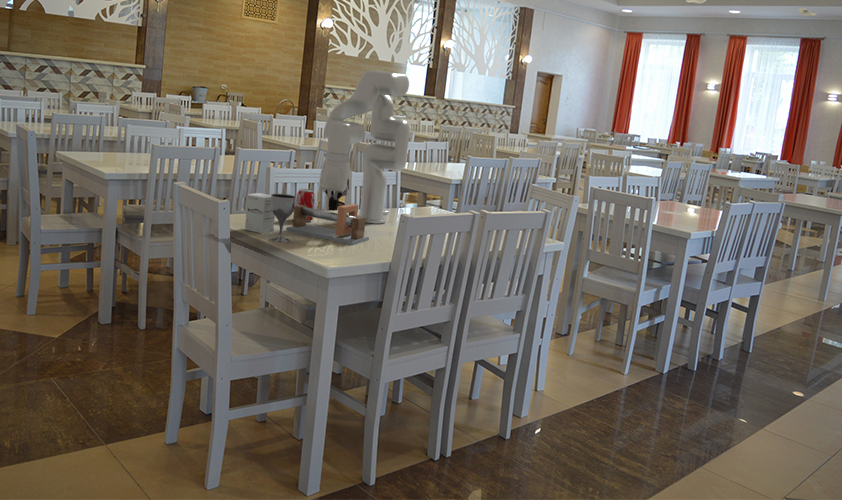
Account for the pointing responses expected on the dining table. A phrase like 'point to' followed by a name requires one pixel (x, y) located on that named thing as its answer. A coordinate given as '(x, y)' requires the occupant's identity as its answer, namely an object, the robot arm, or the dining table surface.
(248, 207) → the supplement box
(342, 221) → the ring
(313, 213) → the pipe
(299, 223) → the posts
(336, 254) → the dining table surface
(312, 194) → the soda can
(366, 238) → the board
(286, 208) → the wine glass
